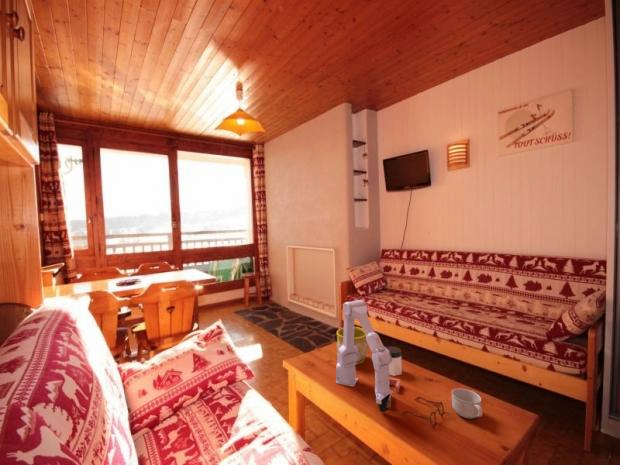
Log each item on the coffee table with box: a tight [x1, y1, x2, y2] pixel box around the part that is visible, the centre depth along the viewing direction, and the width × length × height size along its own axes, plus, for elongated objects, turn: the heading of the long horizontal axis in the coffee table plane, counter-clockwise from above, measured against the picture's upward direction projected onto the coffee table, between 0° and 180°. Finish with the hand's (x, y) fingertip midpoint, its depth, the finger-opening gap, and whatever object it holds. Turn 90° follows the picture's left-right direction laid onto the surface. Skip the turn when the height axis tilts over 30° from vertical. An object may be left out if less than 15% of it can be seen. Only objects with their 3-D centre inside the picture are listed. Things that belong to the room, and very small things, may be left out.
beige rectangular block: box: [386, 388, 392, 409], centre depth 131 cm, size 3×9×4 cm, turn 163°
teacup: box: [451, 387, 484, 420], centre depth 119 cm, size 14×11×8 cm
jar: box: [386, 346, 403, 377], centre depth 156 cm, size 9×8×12 cm
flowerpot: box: [336, 326, 369, 366], centre depth 171 cm, size 18×18×16 cm
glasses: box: [400, 396, 445, 427], centre depth 123 cm, size 13×13×5 cm
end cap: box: [389, 376, 401, 394], centre depth 141 cm, size 7×7×3 cm
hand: (382, 410), depth 123 cm, fingers closed
